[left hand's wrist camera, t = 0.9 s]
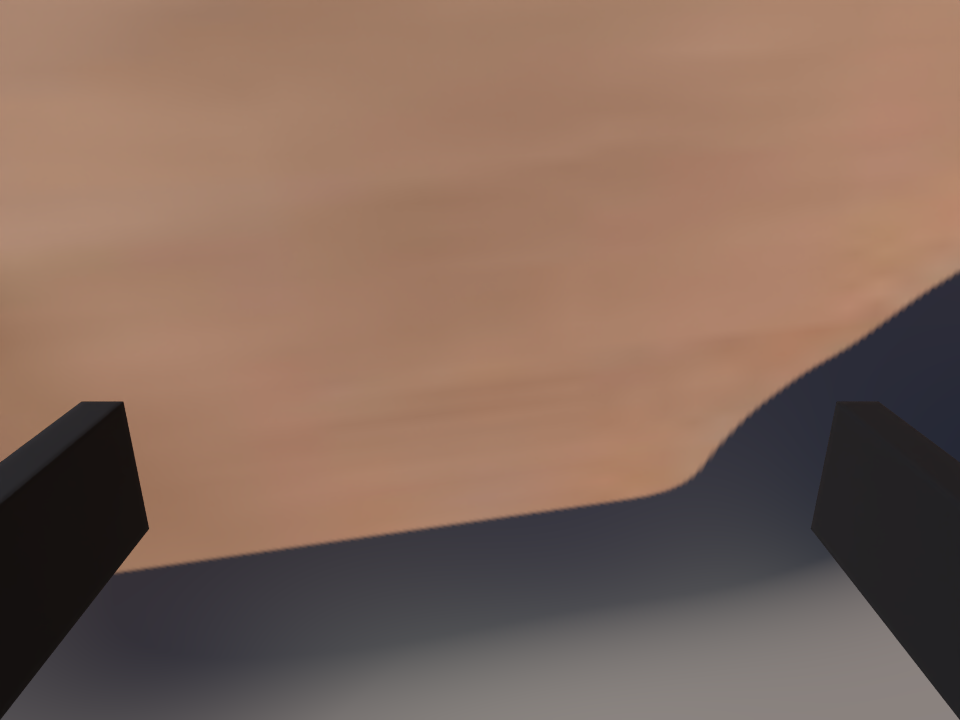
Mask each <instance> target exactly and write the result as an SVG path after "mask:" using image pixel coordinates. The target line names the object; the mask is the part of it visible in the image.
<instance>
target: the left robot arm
mask: <svg viewBox="0 0 960 720" xmlns="http://www.w3.org/2000/svg"><path fill="white" fill-rule="evenodd" d="M148 529H149V526H148V521H147V516H146V511H145V506H144V501H143V496H142V491H141V487H140V482H139V477H138V472H137V467H136V462H135V457H134V452H133V447H132V442H131V437H130V432H129V427H128V422H127V417H126V412H125V407H124V402H81V403H79V404H78V405H77V406H75V407H74V408H72V409H71V410H70V411H68V412H67V413H66V414H64V415H63V416H62V417H60V418H59V419H58V420H56V421H55V422H54V423H52V424H51V425H50V426H48V427H47V428H46V429H44V430H43V431H42V432H40V433H39V434H38V435H36V436H35V437H34V438H32V439H31V440H30V441H28V442H27V443H26V444H24V445H23V446H22V447H20V448H19V449H18V450H16V451H15V452H14V453H12V454H11V455H10V456H8V457H7V458H6V459H4V460H3V461H2V462H0V719H1V718H2V717H3V716H4V714H5V713H6V712H7V710H8V709H9V708H10V707H11V705H12V704H13V703H14V701H15V700H16V699H17V698H18V696H19V695H20V694H21V692H22V691H23V690H24V689H25V687H26V686H27V685H28V683H29V682H30V681H31V680H32V678H33V677H34V676H35V674H36V673H37V672H38V671H39V669H40V668H41V667H42V665H43V664H44V663H45V662H46V660H47V659H48V658H49V656H50V655H51V654H52V653H53V651H54V650H55V649H56V648H57V646H58V645H59V644H60V642H61V641H62V640H63V639H64V637H65V636H66V635H67V633H68V632H69V631H70V630H71V628H72V627H73V626H74V624H75V623H76V622H77V621H78V619H79V618H80V617H81V615H82V614H83V613H84V612H85V610H86V609H87V608H88V606H89V605H90V604H91V603H92V601H93V600H94V599H95V597H96V596H97V595H98V594H99V592H100V591H101V590H102V588H103V587H104V586H105V585H106V583H107V582H108V581H109V579H110V578H111V577H112V576H113V574H114V573H115V572H116V570H117V569H118V568H119V567H120V565H121V564H122V563H123V562H124V560H125V559H126V558H127V556H128V555H129V554H130V553H131V551H132V550H133V549H134V547H135V546H136V545H137V544H138V542H139V541H140V540H141V538H142V537H143V536H144V535H145V533H146V532H147V531H148ZM811 529H812V531H813V532H814V533H815V535H816V536H817V537H818V538H819V540H820V541H821V542H822V543H823V545H824V546H825V547H826V549H827V550H828V551H829V552H830V554H831V555H832V556H833V558H834V559H835V560H836V562H837V563H838V564H839V565H840V567H841V568H842V569H843V570H844V572H845V573H846V574H847V576H848V577H849V578H850V579H851V581H852V582H853V583H854V585H855V586H856V587H857V588H858V590H859V591H860V592H861V594H862V595H863V596H864V597H865V599H866V600H867V601H868V603H869V604H870V605H871V606H872V608H873V609H874V610H875V612H876V613H877V614H878V615H879V617H880V618H881V619H882V621H883V622H884V623H885V624H886V626H887V627H888V628H889V629H890V631H891V632H892V633H893V635H894V636H895V637H896V639H897V640H898V641H899V642H900V644H901V645H902V646H903V647H904V649H905V650H906V651H907V653H908V654H909V655H910V656H911V658H912V659H913V660H914V662H915V663H916V664H917V665H918V667H919V668H920V669H921V671H922V672H923V673H924V674H925V676H926V677H927V678H928V680H929V681H930V682H931V683H932V685H933V686H934V687H935V689H936V690H937V691H938V692H939V694H940V695H941V696H942V698H943V699H944V700H945V701H946V703H947V704H948V705H949V707H950V708H951V709H952V710H953V712H954V713H955V714H956V715H957V717H958V718H959V719H960V462H958V461H957V460H956V459H954V458H953V457H952V456H950V455H949V454H948V453H946V452H945V451H944V450H942V449H941V448H940V447H938V446H937V445H936V444H934V443H933V442H932V441H930V440H929V439H928V438H926V437H925V436H924V435H922V434H921V433H920V432H918V431H917V430H916V429H914V428H913V427H912V426H910V425H909V424H907V423H906V422H905V421H904V420H902V419H901V418H900V417H898V416H897V415H895V414H894V413H893V412H891V411H890V410H889V409H887V408H886V407H885V406H883V405H882V404H881V403H879V402H836V408H835V412H834V417H833V422H832V427H831V432H830V437H829V442H828V447H827V452H826V457H825V462H824V467H823V472H822V477H821V482H820V487H819V491H818V496H817V501H816V506H815V511H814V516H813V521H812V526H811Z"/></svg>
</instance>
